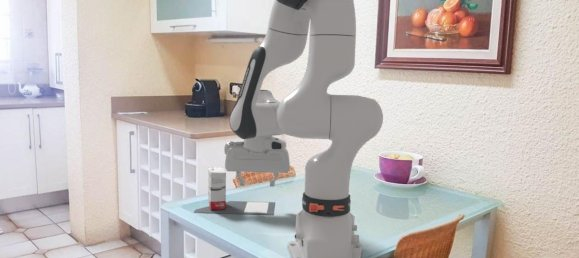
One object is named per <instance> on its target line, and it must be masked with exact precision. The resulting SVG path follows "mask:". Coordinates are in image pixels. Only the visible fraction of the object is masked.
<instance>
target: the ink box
mask: <svg viewBox="0 0 579 258" xmlns="http://www.w3.org/2000/svg"><path fill="white" fill-rule="evenodd" d="M207 169H208V170H207V171H208V179H207V181H208V186H207V188H208V189H207V190H208V191H207V192H208V196H207V199H208V202H207V203H208V206H210V209H211V210H221V209H226V202H227V201H226V200H227V198H226V197H227V194H226V193H227V192H226V191H227V189H226V188H227V187H226V186H227V172H226V169H225V168H224V167H219V166H218V167H215V166H211V167H208V168H207Z"/></svg>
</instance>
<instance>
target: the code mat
mask: <svg viewBox="0 0 579 258" xmlns="http://www.w3.org/2000/svg"><path fill="white" fill-rule="evenodd" d="M275 204H276V202H275V201H273V202H272V201H246V200H245V201H241V200H228V201H226V209H221V210H211V209H210V206H209V205H208V206H205V207H201V208H196V209H195V210H194V211H193V213H195V214H220V215H221V214H223V215H224V214H225V215H226V214H228V215H254V216H255V215H256V216H257V215H261V216H273V215H274V212H275V211H274V210H275V206H276V205H275Z"/></svg>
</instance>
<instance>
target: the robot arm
mask: <svg viewBox="0 0 579 258" xmlns="http://www.w3.org/2000/svg"><path fill="white" fill-rule="evenodd" d="M356 19H357V18H356V8H355V2H354V0H274V1H273V5H272V7H271V10H270V15H269V20H268V25H267V30H266V33H265V36H264V37H263V41H262V42H261V44H260V45H259V46H258V47H256V48H254V50H253V51H252V54H251V55H250V58H249V61H248V64H247V67H246V70H245V73H244V76H243V80H242V83H241V86H240V89H239V92H238V93H239V94H238V96H237V99H236V102H235V104H234V106H233V108H232V109H231V112H230V117H229V126H230V129H231V131H232V132H233V134H234V135H236V136H237V137H239V138H240V139H242V140H243V141H229V142H227V143H225V145H224V154H225V161H224V162H225V163H224V170H225V171H227V172H233V173H234V172H235V176H236V177H237V179H238V181H239V186H242V187H243V186H245V184H246V179H245V178H242V176H241V175H242V172H244V173H247V172H248V173H272V174H273V176H274V177H273V179H270V180H269V187H275V184H276V183H275V182H276V180H277V179H278V177H279V173H280V174H282V173H283V174H285V173H286V174H287V173H289V172H290V170H291V166H290V165H291V163H290V155H289V151H288V149H287V141H286V140H285V139H281V138H279V137H276V136H282V135H285V136H291V137H293V138H298V139H303V140H304V139H305V140H307V139H313V140H329V141H331V144H330V145H329V147H328V148H327V149H325V150H324V151H321V152H318V153H316V154H315V155H313V156H311V157H310V158H309V159H308V160H307V162H306V164H305V166H304V167H305V169H304V191H303V192H302V197H301V202H302V204H301V205H302V206H301V211H300V212H297V214H296V216H295V232H294V240H291V241H288V242H287V246H286V247H287V249H288V252H289V253H290V256H291V258H362V252H363V251H362V250H363V248H362V247H363V246H362V244H361V243H360V235H359V234H355V232H357V231H358V225H356V224H355V216H354V214H353V213H351V206H352V205H351V203H352V200H351V195H350V194H349V193H350V180H351V172H352V167H353V163H354V161H355V158H356V156H357V155H358V153H359V151H360V150H361V149H362V147H363V146H364V145H365V144H366V143H367V142H369V141H370V140H371V139H373V138H375V137H376V136H377V135H378V133H380V131H381V128H382V126H383V123H384V121H383V120H384V114H383V113H384V112H383V109H382V108H381V106H380V104H379V102H378V101H377V100H376V99H374V98H370V97H366V96H361V95H354V94H330V93H328V89H329V87H330V85H332V84H333V83H335V82H337V81H340V80H341V79H345V77H348V76H349V75H350V74H351V73H352V72H353V70H354V68H355V63H356V62H355V61H356V44H357V43H356V41H357V40H356V38H357V23H356V22H357V20H356ZM308 35H309V37H308ZM308 38H309V40H308ZM307 41H309V42H308V55H307V56H308V57H307V63H306V68H305V72H304V75H303V77H302V79H301V81H300V82H299V84H298V85H297V86H296V87H295V89H294V90H293V91H292V92H291V93H289V94H287V95H286V96H285V97H284V98H283V99H282V100H281V101H279V100H277V99H276V98H275V97H274V95H273V93H272V91H271V90H268V89H261V88H262V85H263V81H264V80H265V78H266V76H267V75H268V74H270V73H272V71H274V70H276V69H278V68H281V67H283V66H286V65H288V64H289V65H290V64H291V63H293V62H295V61H296V60H297V59H299V58H300V57H301V56H302V55H303V53H304V50H305V48H306V45H307Z"/></svg>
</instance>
